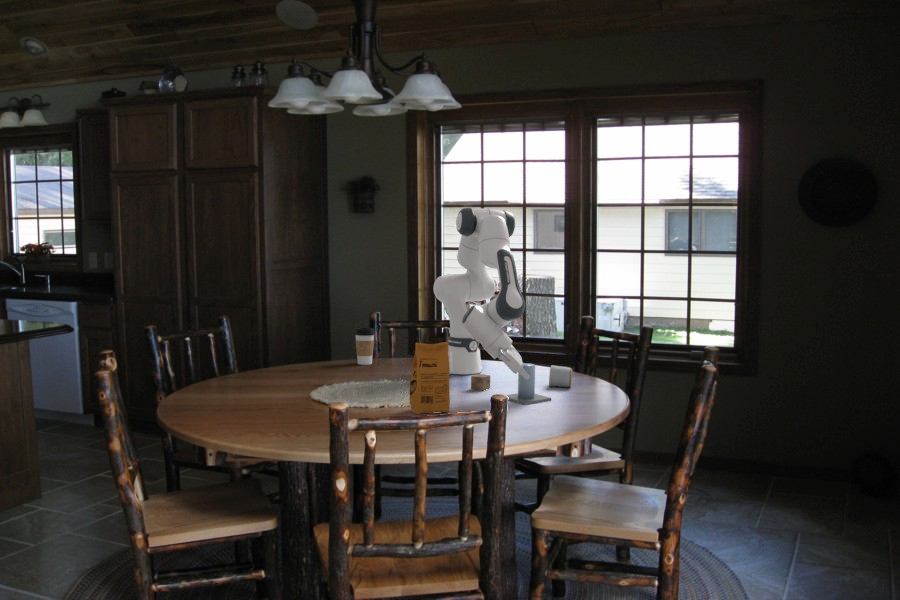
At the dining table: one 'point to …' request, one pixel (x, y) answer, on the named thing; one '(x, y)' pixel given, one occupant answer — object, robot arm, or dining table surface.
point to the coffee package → (430, 379)
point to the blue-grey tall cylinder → (527, 382)
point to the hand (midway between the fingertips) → (528, 375)
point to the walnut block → (480, 382)
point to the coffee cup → (364, 345)
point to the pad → (528, 401)
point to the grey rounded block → (560, 376)
